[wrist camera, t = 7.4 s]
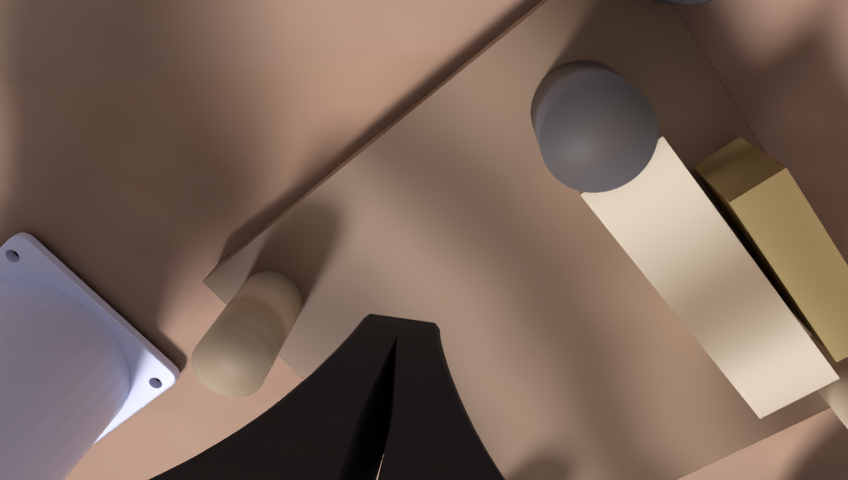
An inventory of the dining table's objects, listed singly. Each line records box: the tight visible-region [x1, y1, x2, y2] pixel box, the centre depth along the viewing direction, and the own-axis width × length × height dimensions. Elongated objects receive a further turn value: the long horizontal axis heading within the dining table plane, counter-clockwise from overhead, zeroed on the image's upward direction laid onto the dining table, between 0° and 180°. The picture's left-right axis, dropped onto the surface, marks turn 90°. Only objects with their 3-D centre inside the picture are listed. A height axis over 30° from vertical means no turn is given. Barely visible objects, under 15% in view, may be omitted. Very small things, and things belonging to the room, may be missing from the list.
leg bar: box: [531, 60, 840, 419], centre depth 17 cm, size 11×3×3 cm, turn 41°
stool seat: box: [191, 0, 848, 480], centre depth 19 cm, size 17×17×5 cm
